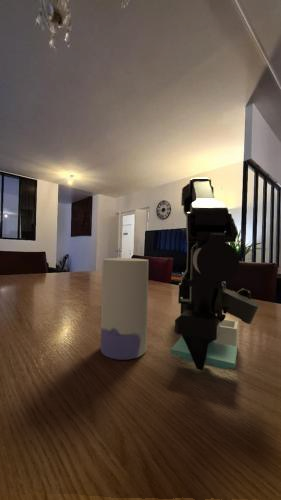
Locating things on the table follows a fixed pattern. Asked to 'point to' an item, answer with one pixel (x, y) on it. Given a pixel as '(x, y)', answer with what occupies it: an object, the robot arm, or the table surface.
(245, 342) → the table surface
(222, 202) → the robot arm
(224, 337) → the storage box
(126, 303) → the container
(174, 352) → the lid
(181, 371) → the table surface
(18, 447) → the table surface
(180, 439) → the table surface
